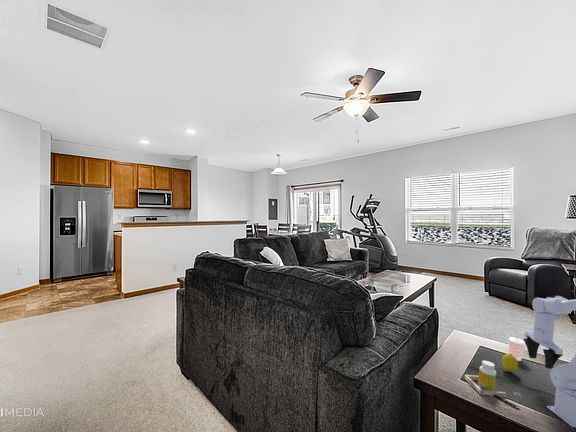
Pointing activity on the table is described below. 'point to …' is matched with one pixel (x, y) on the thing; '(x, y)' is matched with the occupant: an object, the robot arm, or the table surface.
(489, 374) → the supplement bottle
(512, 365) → the lemon
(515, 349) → the beverage cup
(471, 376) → the ash bracket
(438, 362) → the table surface
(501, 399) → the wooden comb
